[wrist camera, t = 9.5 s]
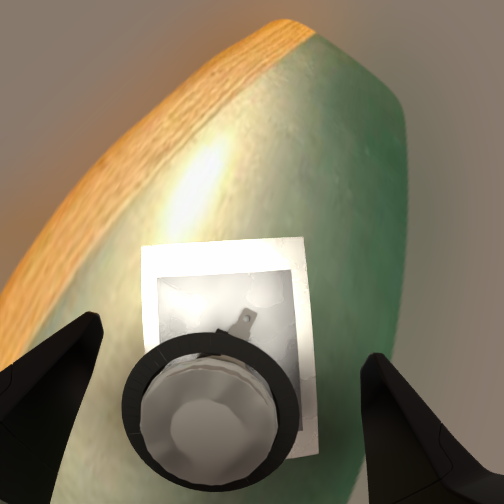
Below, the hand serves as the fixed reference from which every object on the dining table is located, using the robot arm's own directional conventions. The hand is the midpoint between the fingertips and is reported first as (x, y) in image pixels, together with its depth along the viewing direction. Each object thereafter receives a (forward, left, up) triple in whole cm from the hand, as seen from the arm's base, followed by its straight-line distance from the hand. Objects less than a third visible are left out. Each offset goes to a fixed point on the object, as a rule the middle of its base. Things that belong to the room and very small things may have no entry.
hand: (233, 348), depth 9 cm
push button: (-1, +1, -8) cm, 8 cm away
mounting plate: (-1, 0, -10) cm, 10 cm away
